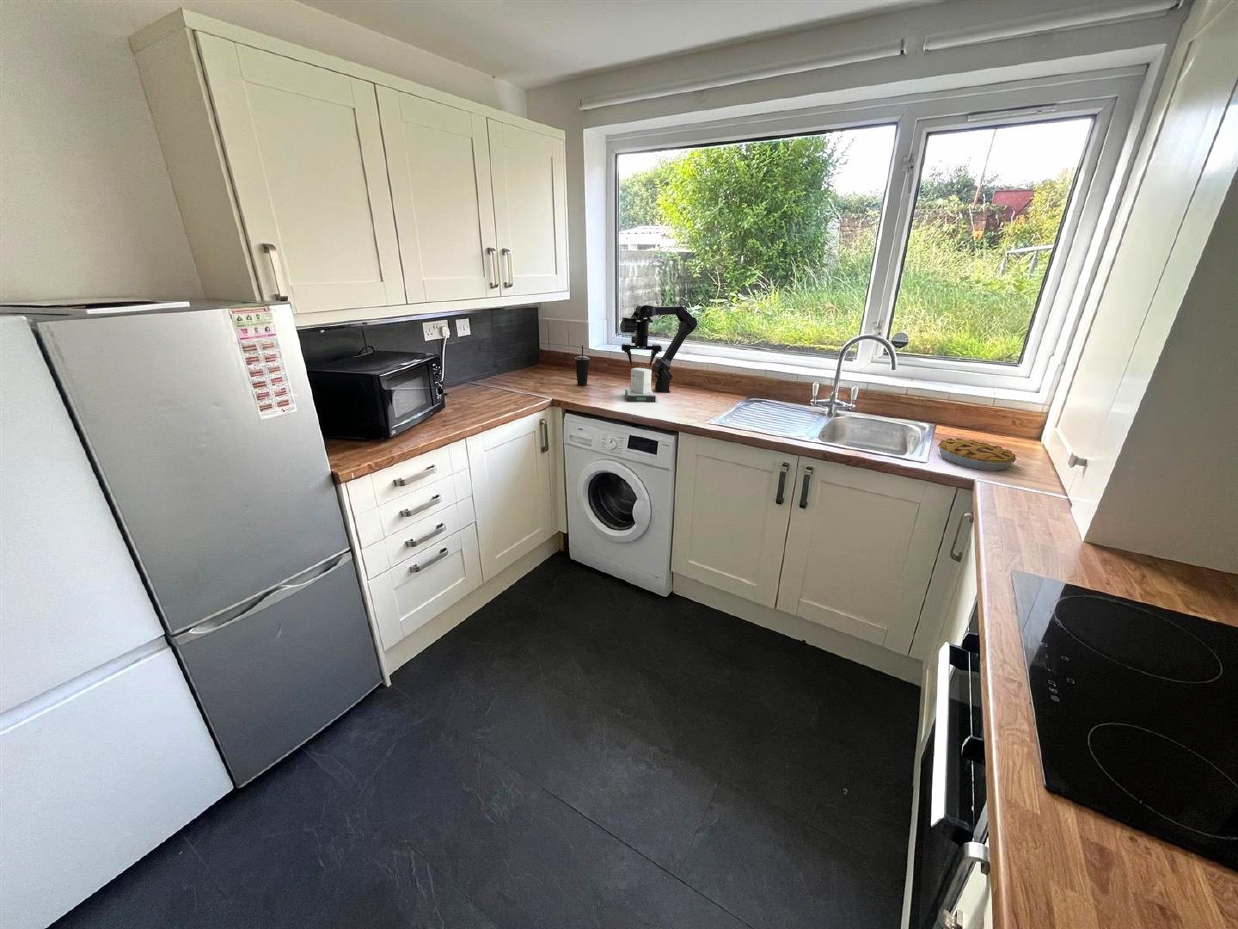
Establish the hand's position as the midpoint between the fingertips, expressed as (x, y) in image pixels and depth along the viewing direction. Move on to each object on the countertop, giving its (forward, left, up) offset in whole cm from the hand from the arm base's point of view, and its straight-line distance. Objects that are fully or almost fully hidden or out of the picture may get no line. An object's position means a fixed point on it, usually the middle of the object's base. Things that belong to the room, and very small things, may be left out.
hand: (640, 365), depth 239 cm
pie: (-104, +90, -13) cm, 138 cm away
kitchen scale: (+1, +12, -13) cm, 18 cm away
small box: (+1, +12, -10) cm, 16 cm away
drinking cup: (+28, -14, -13) cm, 34 cm away
